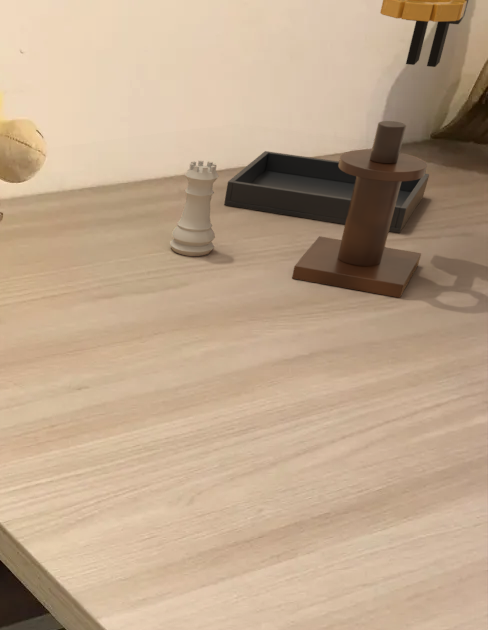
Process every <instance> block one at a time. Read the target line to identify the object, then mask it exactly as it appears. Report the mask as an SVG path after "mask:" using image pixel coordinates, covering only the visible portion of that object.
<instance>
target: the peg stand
mask: <svg viewBox="0 0 488 630" xmlns="http://www.w3.org/2000/svg"><path fill="white" fill-rule="evenodd" d="M406 129H407V125H406V123H403V122H401V121H395V120H383V121H379V122H378V123H377V127H376V129H375V130H376V131H375V135H374V138H373V139H374V140H373V144H372V148H371V149H356V150H350V151H346V152H344V153H342V154H340V156H339V160H338V161H339V164H338V167H339V168H340V170H342V171H343V172H345V173H348V174H350V175H353V176H356V180H355V184H354V189H353V193H352V197H351V202H350V206H349V210H348V215H347V219H346V223H345V224H344V228H343V233H342V236H341V239H340V238H339V239H338V238H332V237H326V236H318V238H316V240H314V242H313V243H312V244H311V246H310V247H309V248H308V249H307V250H306V251H305V253H304V254H303V255H302V256H301V257H300V259H299V260H298V261H297V262H296V264H295V265H294V266H293V271H292V276H291V279H294V280H300V281H306V282H311V283H315V284H321V285H327V286H332V287H339V288H344V289H349V290H354V291H359V292H366V293H371V294H377V295H381V296H388V297H392V298H397V299H399V298H401V296H402V295H403V293H404V291H405V289H406V288H407V286H408V285H409V283H410V281H411V279H412V277H413V275H414V273H415V271H416V270H417V268H418V266H419V263H420V259H421V256H422V253H421V252H417V251H412V250H405V249H398V248H392V247H388V246H387V247H386V244H387V240H388V235H389V233H390V232H389V228H390V224H391V221H392V217H393V213H394V209H395V205H396V201H397V197H398V194H399V190H400V186H401V182H402V181H412V180H417V179H420V178H422V177H423V176H424V175H425V174H426V171H427V168H428V163H427V162H426V161H425V160H423V158H420V157H417V156H415V155H411V154H408V153H405V152H404V153H403V152H401V148H402V145H403V141H404V137H405V132H406Z"/></svg>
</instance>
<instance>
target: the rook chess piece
mask: <svg viewBox="0 0 488 630" xmlns="http://www.w3.org/2000/svg"><path fill="white" fill-rule="evenodd" d="M204 163H205V162H204V160H198V162H197V161H196V160H193V161H191V162H190V163H189V168H188V169H187V170H186V172H185V173H184V176H185V177H186V178H185V179H186V180H187V187H186V188H185V189H184V193H185V194H186V195H185V200H184V201H185V202H184V204H183V205H184V206H183V209H182V211H181V216H180V219H179V220H178V221H177V223H176V224H177V225H176V226H175V227H174V228H173V229H172V231H171V236H172V238H173V239H171V240H170V241H169V245H170V247H171V250H172V251H173V252H174V253H176V254H180V255H181V256H182V255H183V256H188V257H200V256H206V255H208V254H210V253H211V251H212V250H213V249H214V248H215V245H214V243H213V241H214V240H215V238H216V234H215V233H216V232H214V230H213V228H212V227H213V224H212V223H211V222H212V221H211V201H212V196H213V195H214V194H215V192H214V190H213V185H214V183H215V182H216V181H217V179H218V178H219V177H220V175H219V173H218V171H217V165H218V164H216V163H214V162H213V161H207V162H206V163H207V164H206V165H204Z"/></svg>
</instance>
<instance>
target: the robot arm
mask: <svg viewBox="0 0 488 630" xmlns="http://www.w3.org/2000/svg"><path fill="white" fill-rule="evenodd" d="M466 1H467V3H466V7H465V10H464V14H463V17H462V18H461V19H460V20H456V21H441V22H437V24H436V28H435V32H434V35H433V39H432V43H431V47H430V52H429V56H428V60H427V64H426V67H431V68H436V67H437V66H438V65H439V64H440V63H441V58H442V55H443V52H444V51H443V50H444V47H445V42H446V39H447V36H448V31H449V27H450V25H460V24H461V22H462V20H463V19H464V17H465V16H466V12H467V7H468V4H469V0H466ZM411 21H413V22H415V23H414V24H415V25H414V28H413V32H412V35H411V40H410V45H409V49H408V53H407V57H406V61H405V65H411V66H415V65H416V64H417V62H419V61H420V56H421V54H422V50H423V45H424V41H425V37H426V33H427V29H428V24H429V21H428V22H427V21H416V20H411Z"/></svg>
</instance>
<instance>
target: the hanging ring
mask: <svg viewBox="0 0 488 630" xmlns="http://www.w3.org/2000/svg"><path fill="white" fill-rule="evenodd" d="M466 3H467V1H466V0H382V3H381V8H380V12H379V13H380V14H381V15H382V16H385V17H390V18H394V19H401V20H405V21H412V20H416V21H427V22H428V23H429V22H433V23H435V22H436V23H438V22H441V21H456V20H460V19H461V18H462V17H463V14H464V10H465V7H466ZM463 18H464V17H463ZM416 21H415V22H416Z"/></svg>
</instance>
